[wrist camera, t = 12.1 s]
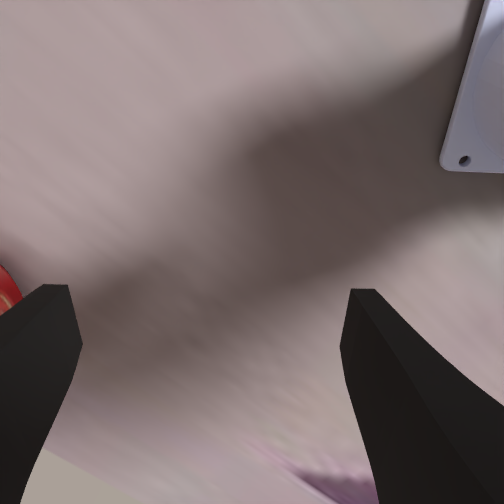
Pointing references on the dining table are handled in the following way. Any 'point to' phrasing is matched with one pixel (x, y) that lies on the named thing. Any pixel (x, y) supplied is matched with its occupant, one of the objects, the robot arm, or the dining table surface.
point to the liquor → (8, 291)
